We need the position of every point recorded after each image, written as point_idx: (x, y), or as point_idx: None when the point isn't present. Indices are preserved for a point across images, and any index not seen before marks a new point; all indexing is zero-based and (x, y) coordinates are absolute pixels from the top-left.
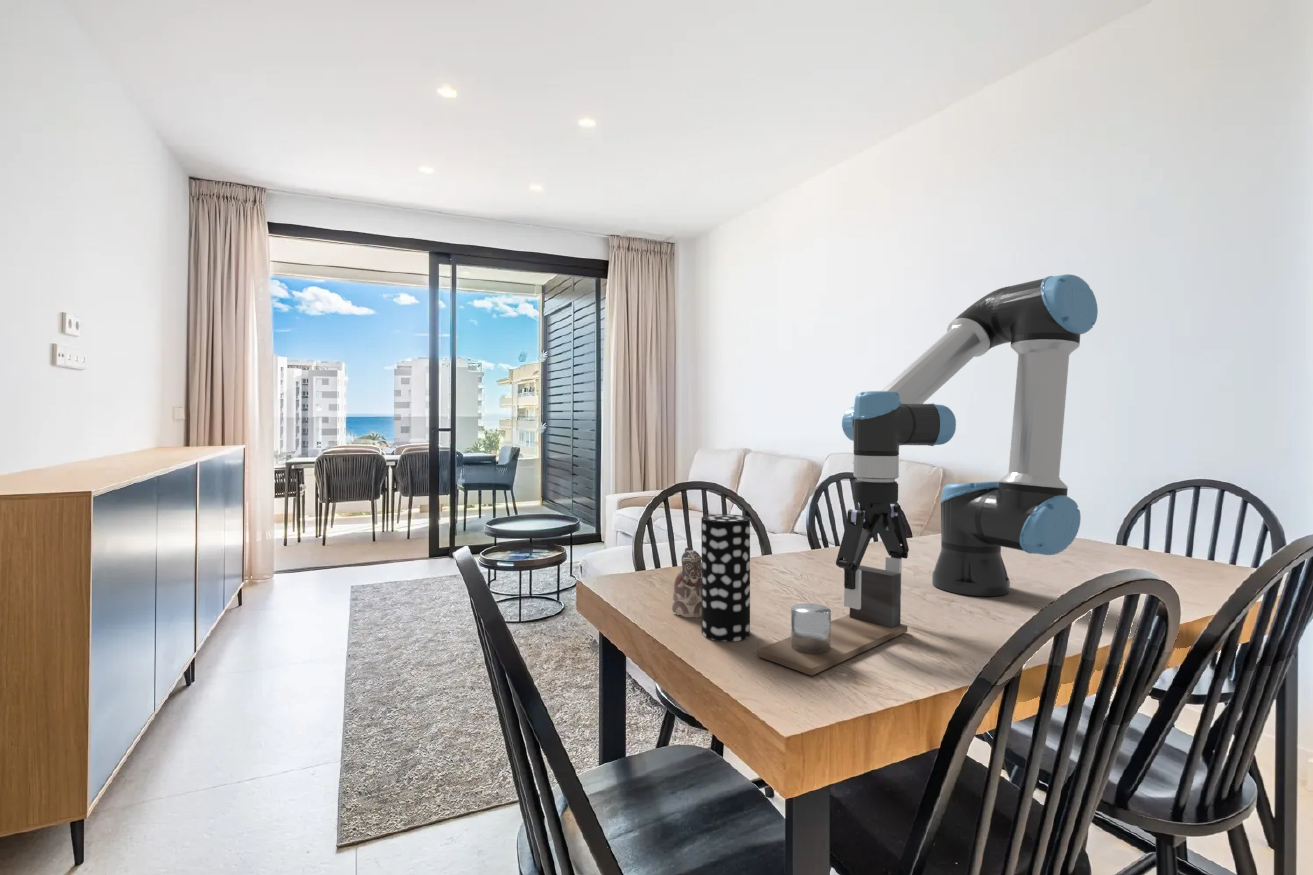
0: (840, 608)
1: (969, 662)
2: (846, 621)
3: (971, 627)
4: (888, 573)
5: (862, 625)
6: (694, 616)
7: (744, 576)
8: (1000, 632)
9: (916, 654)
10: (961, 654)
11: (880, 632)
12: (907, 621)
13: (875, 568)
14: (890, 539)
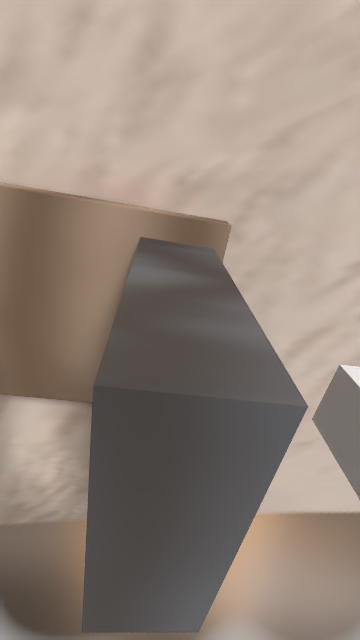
0: (357, 84)
1: (86, 513)
2: (77, 248)
3: (321, 472)
4: (129, 611)
5: (81, 314)
6: None
7: None
8: (312, 509)
9: (43, 449)
10: None
11: (60, 380)
12: (296, 364)
13: (235, 534)
14: None
